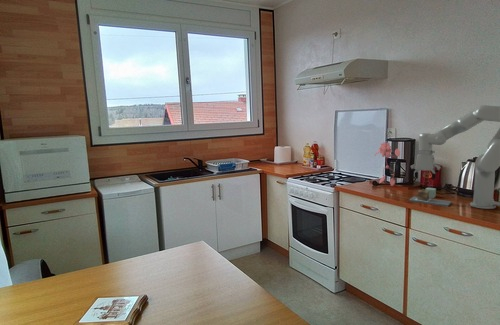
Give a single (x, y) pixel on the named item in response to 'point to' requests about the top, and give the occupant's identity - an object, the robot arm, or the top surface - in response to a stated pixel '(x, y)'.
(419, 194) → the walnut cube
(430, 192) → the green cube
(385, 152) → the pink flower sprig
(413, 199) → the baseplate
